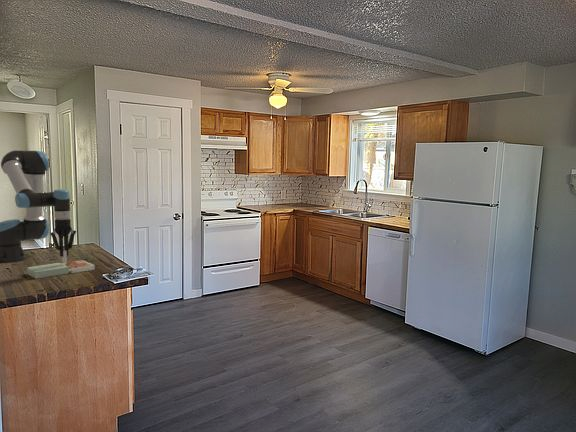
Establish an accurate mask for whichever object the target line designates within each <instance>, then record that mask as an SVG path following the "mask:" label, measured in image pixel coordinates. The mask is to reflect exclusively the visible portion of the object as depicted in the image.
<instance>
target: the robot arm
mask: <svg viewBox="0 0 576 432" xmlns="http://www.w3.org/2000/svg"><path fill="white" fill-rule="evenodd" d="M49 161H50V160H49V158H48V156H47V154H46V153H45V152H44V151H39V150H16V149H15V150H11V151H9V152H7V153H6V154H5V155H4V156H2V158H1V162H0V167H1V169H2V172H3V173H4V174H6V175H7V177H8V179H9V181H10V183H11V185H12V187H13V188H14V191H15V193H16V194H15V196H14V202H15V205H16V207H18V208H21V209H23V208H24V209H26V211H25V213H26V215H25V216H24V217H23V221H21V220H20V219H18V218H17V219H8V220H7V219H6V220H3V221H0V263H12V262H13V263H14V262H20V261H23V260H26V253H25V252H24V251H25V250H24V249H23V247H22V242H23V241H24V242H26V241H33V240H35V241H37V240H41V239H46V238H47V237H48V235H50V236H51V238H52V241H53V245H54V247H55V250H57V251H59V257H61V262H62V263H67V262H68V256H69V250H70V249H72V248H73V243H74V239H75V235H76V233H77V230H74V229H73V228H72V224H71V223H72V222H71V221H72V220H71V201H70V200H71V199H70V198H71V196H70V191H69V190H68V189H54V190H53V191H49V192H43V177H44V176H45V175H46V172H47V171H49V168H50V162H49ZM43 207H44V208H45V207H53V213H54V215H53V216H54V230H53V231H52V232H50V222H49V220H47V219H46V216H44V215H43V213H44V212H43V211H44V210H43V209H44V208H43ZM56 235H57V236H58V238H57V236H56Z"/></svg>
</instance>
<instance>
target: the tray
mask: <svg viewBox="0 0 576 432" xmlns="http://www.w3.org/2000/svg"><path fill="white" fill-rule="evenodd" d="M74 261H75V262H80V261H83V262H85V264H86V266H85V267H79V268H72V269H69V273H68V274H70V275H71V274H76V273H77V274H78V273H83V272H84V273H85V272H91V271H95V270H96V265H95V264H93V263H91V262H88V261H86V260H83V259H82V260H74ZM60 263H61V262H60ZM66 263H67V262H66ZM66 263H64V262H62V263H61V264H64V265H66Z"/></svg>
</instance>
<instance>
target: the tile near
mask: <svg viewBox="0 0 576 432" xmlns="http://www.w3.org/2000/svg"><path fill="white" fill-rule="evenodd" d="M75 261H76V260H74V259H72V258H69V260H67V262H66V266H68V267H69V269H72V268H74V267H75V266H76V265H77V262H75Z"/></svg>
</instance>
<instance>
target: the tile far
mask: <svg viewBox="0 0 576 432" xmlns="http://www.w3.org/2000/svg"><path fill="white" fill-rule="evenodd" d="M79 261H80V262H77V265H76V266H75V267H74V268H79V267H85V266H86V264H85V262H86V261H85V262H83V261H84V260H83V261H81V260H79Z"/></svg>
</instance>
